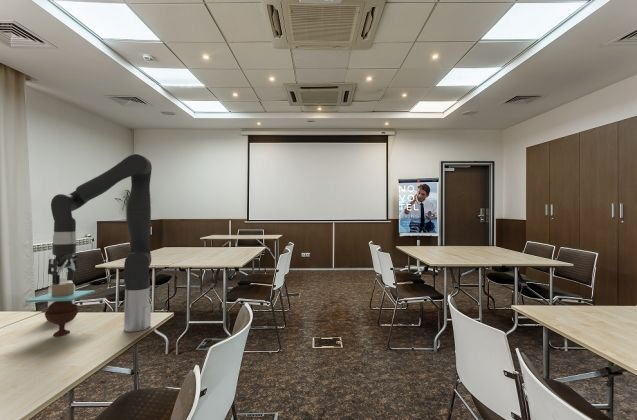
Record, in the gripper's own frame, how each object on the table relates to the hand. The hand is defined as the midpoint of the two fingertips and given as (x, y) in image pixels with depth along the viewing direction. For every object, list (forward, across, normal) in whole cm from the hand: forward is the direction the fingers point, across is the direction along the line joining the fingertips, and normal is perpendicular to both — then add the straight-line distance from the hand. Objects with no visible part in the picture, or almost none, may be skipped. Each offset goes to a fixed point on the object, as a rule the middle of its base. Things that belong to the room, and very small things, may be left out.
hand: (63, 282), depth 128 cm
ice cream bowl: (+21, 0, 0) cm, 21 cm away
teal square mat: (+6, 0, 0) cm, 6 cm away
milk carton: (+21, +20, +13) cm, 32 cm away
